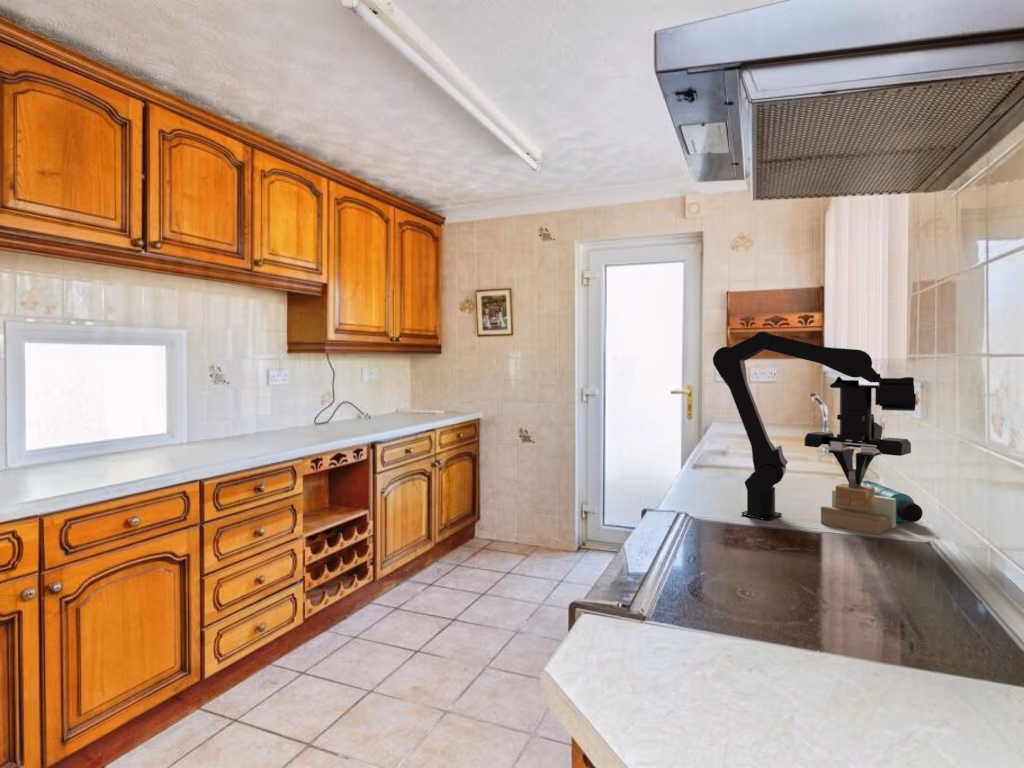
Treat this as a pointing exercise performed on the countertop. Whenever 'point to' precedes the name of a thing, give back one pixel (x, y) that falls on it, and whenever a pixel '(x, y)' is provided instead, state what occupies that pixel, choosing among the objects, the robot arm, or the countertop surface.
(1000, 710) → the countertop surface
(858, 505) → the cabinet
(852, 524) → the wooden stand with panel
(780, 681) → the countertop surface
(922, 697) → the countertop surface
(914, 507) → the beverage bottle
